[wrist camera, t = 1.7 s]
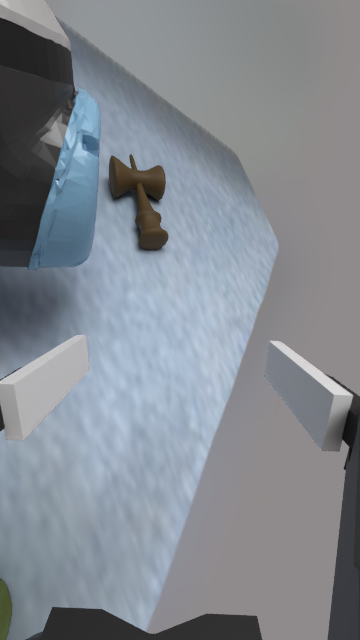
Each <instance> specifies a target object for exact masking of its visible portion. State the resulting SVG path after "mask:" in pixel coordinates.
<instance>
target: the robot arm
mask: <svg viewBox="0 0 360 640" xmlns="http://www.w3.org/2000/svg"><path fill="white" fill-rule="evenodd" d="M100 131H101V119H100V108H99V105H98V103H97V102H96V100H95V99H94V98H93V97H92V96H90V95H89V94H88V93H87V91H86V90H85V89H80V88H78V92H76V91H75V87H74V81H73V70H72V58H71V46H70V41H69V39H68V38H67V36H66V34H65V33H64V31H63V29H62V28H61V26H60V25H59V23H58V21H57V20H56V18H55V16H54V15H53V13H52V12H51V10H50V8H49V6H48V5H47V3H46V2H45V0H0V266H6V267H28V269H29V270H36V269H37V268H38V267H74V266H78V265H80V264H82V263H83V262H84V261H85V260H87V258H88V257H89V255H90V253H91V249H92V244H93V237H94V229H95V220H96V208H97V195H98V180H99V160H98V158H99V141H100ZM88 371H89V360H88V348H87V336H86V335H75V336H73V337H72V338H70V339H68V340H67V341H65V342H64V343H62V344H60V345H59V346H57V347H55V348H54V349H52V350H50V351H49V352H47V353H45V354H44V355H42V356H40V357H39V358H37V359H35V360H34V361H32V362H30V363H29V364H27V365H25V366H24V367H21V368H19V369H17V370H16V371H14V372H12V373H11V374H9V375H7V376H5V377H4V378H2V379H0V431H2V430H3V429H4V430H5V435H6V440H24V439H25V438H26V437H27V436H28V435H29V434H30V433H31V432H32V431H33V430H34V429H35V428H36V427H37V426H38V425H39V423H40V422H41V421H42V420H43V419H44V418H45V417H46V416H47V415H48V414H49V413H50V412H51V411H52V410H53V409H54V407H55V406H56V405H57V404H58V403H59V402H60V401H61V400H62V399H63V398H64V397H65V396H66V395H67V394H68V393H69V391H70V390H71V389H72V388H73V387H74V386H75V385H76V384H77V383H78V382H79V381H80V380H81V379H82V378H83V377H84V375H85V374H86V373H87V372H88ZM264 376H265V377H266V379H267V380H268V381H269V383H270V384H271V385H272V387H273V388H274V389H275V390H276V392H277V393H278V394H279V396H280V397H281V398H282V400H283V401H284V402H285V403H286V405H287V406H288V407H289V409H290V410H291V411H292V413H293V414H294V415H295V417H296V418H297V419H298V421H299V422H300V423H301V424H302V426H303V427H304V428H305V430H306V431H307V432H308V433H309V435H310V436H311V437H312V439H313V440H314V442H315V443H316V444H317V445H318V447H319V448H320V449H321V450H322V451H340V447H341V442H342V439H343V440H344V441H345V443H346V444H347V445H348V446H349V451H348V455H347V458H346V463H345V466H344V469H345V470H346V474H345V483H344V492H343V501H342V511H341V520H340V530H339V539H338V548H337V557H336V566H335V567H336V568H335V576H334V586H333V594H332V604H331V613H330V622H329V633H328V640H360V397H359V396H358V395H357V394H355V393H354V392H353V391H351V390H350V389H347V387H346V386H344V385H343V384H341V383H340V382H339V381H337V380H336V379H334V378H333V377H331V376H328V375H326V374H324V373H322V372H320V371H319V370H318V369H317V368H315V367H314V366H313V365H311V364H310V363H309V362H307V361H306V360H305V359H303V358H302V357H300V356H299V355H298V354H296V353H295V352H294V351H292V350H291V349H290V348H288V347H287V346H286V345H284V344H283V343H282V342H280V341H269V345H268V353H267V361H266V368H265V375H264ZM26 640H262V637H261V633H260V628H259V623H258V619H257V616H246V615H224V614H205V615H202V616H200V617H197V618H195V619H192V620H190V621H187V622H185V623H182V624H180V625H177V626H174V627H172V628H169V629H167V630H164V631H162V632H159V633H156V634H149V633H147V632H145V631H143V630H141V629H139V628H137V627H135V626H133V625H131V624H129V623H128V622H126V621H124V620H122V619H120V618H118V617H116V616H114V615H112V614H110V613H108V612H106V611H105V610H103V609H84V608H61V607H52V610H51V612H50V615H49V617H48V620H47V622H46V625H45V628H44V630H43V632H40V633H37V634H35V635H33V636H32V637H30V638H28V639H26Z"/></svg>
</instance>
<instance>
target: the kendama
mask: <svg viewBox="0 0 360 640" xmlns="http://www.w3.org/2000/svg"><path fill="white" fill-rule="evenodd" d="M130 163H131V167H132V169H130V168H129V167H127V166H126V165H125V164H123V163H122V162H121V161H120V160H119V159H117V158H116V157H114V156H111V158H110V163H109V181H110V188H111V192H112V195H113V196H114V198H117V197H119V196H121V195H122V194H124V193H125V192H127V191H130V190H132V191H133V190H136V192H137V199H138V209H139V214H138V215H137V217H136V219H135V223H136V225H137V227H138V228H140V231H141V235H140V236H139V245H140V246H141V247H142V248H144V249H148V250H154V249H158V248H161V247H162V246H164V245H165V244H166V242H167V241H168V233H167V232H166V231H165V230H163V229H162V228H161V227H160V222H161V215H160V214H159V213H158V212H156V211H154V210H153V208H152V206H151V204H150V202H149V200H148V198H147V196H146V193H147V194H149V195H150V196H152V197H153V198H154V199H156V200H158V201H159V200H160V199H161V198H162V196H163V194H164V191H165V183H166V182H165V173H164V170H163V168H162V167H161V166H159V165H158V166H155V167H153V168H151V169H149V170H146V171H139V170H137V168H136V165H135V161H134V159H133V156H132V155H130Z"/></svg>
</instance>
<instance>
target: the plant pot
mask: <svg viewBox="0 0 360 640" xmlns="http://www.w3.org/2000/svg"><path fill="white" fill-rule="evenodd" d="M11 615H12V604H11V599H10V596H9V592H8V589H7V586H6V584H5V583H4V582H3V581H2V580H1V579H0V640H6V638H7V634H8V630H9V626H10V621H11Z"/></svg>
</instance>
